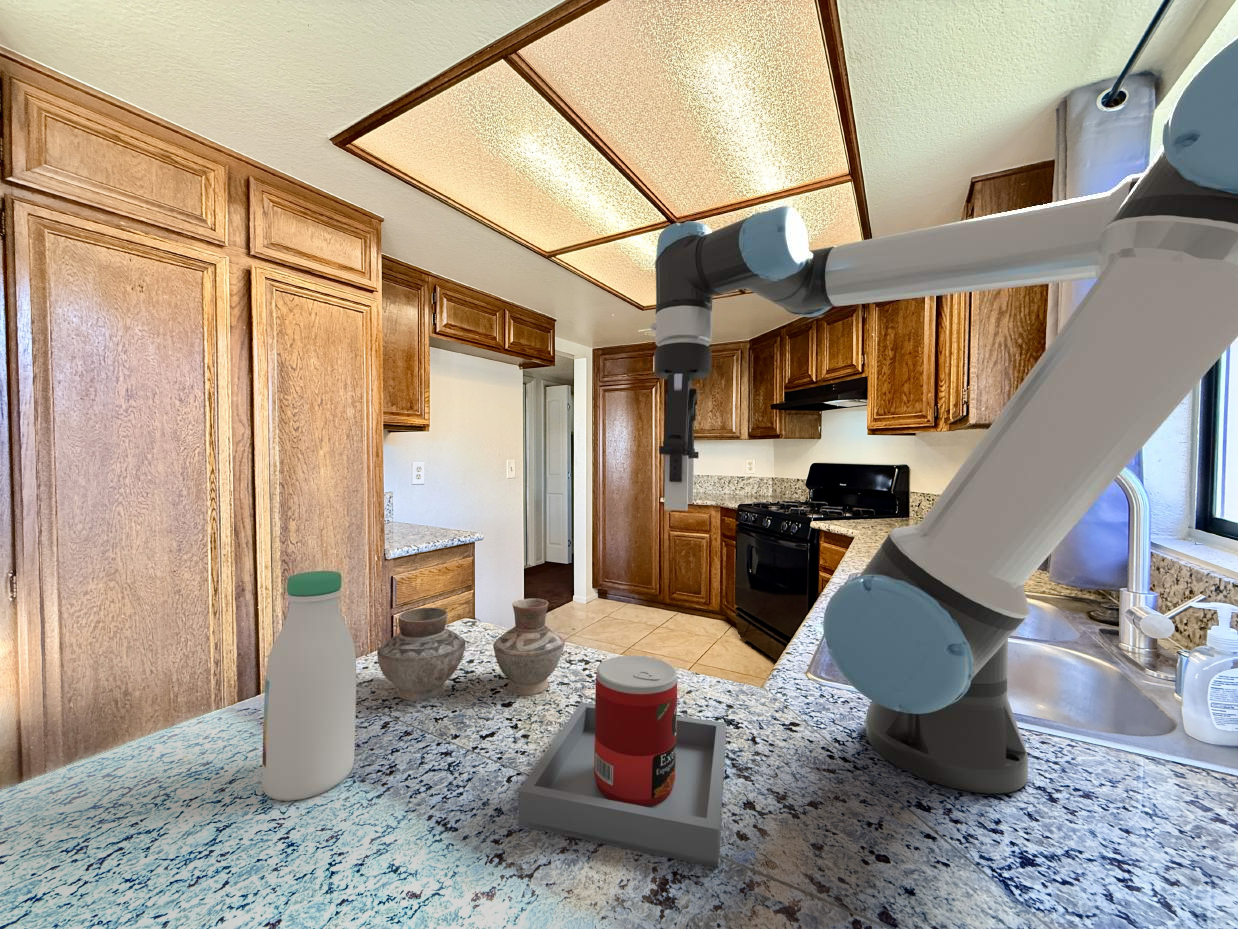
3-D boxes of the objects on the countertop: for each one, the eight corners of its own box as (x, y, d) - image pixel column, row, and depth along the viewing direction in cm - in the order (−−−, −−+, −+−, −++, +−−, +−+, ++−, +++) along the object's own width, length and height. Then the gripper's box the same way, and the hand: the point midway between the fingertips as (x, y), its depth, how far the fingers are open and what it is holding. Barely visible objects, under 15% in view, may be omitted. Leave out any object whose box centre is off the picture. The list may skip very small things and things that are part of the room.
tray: (725, 749, 55) (726, 722, 55) (718, 868, 39) (718, 829, 39) (580, 727, 59) (581, 702, 59) (517, 825, 43) (518, 790, 43)
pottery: (565, 703, 65) (567, 613, 66) (363, 715, 61) (365, 618, 62) (561, 669, 77) (563, 591, 77) (390, 676, 73) (392, 595, 73)
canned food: (670, 816, 44) (673, 691, 44) (583, 802, 45) (586, 681, 45) (678, 766, 51) (681, 659, 51) (603, 755, 53) (605, 651, 53)
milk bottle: (371, 762, 51) (376, 569, 52) (306, 811, 44) (312, 586, 44) (312, 749, 54) (317, 564, 54) (240, 794, 46) (246, 579, 46)
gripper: (664, 367, 79) (662, 500, 79) (640, 320, 55) (637, 512, 54) (712, 365, 78) (710, 501, 77) (709, 317, 53) (706, 515, 53)
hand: (680, 506), depth 66 cm, fingers open, 13 cm apart
